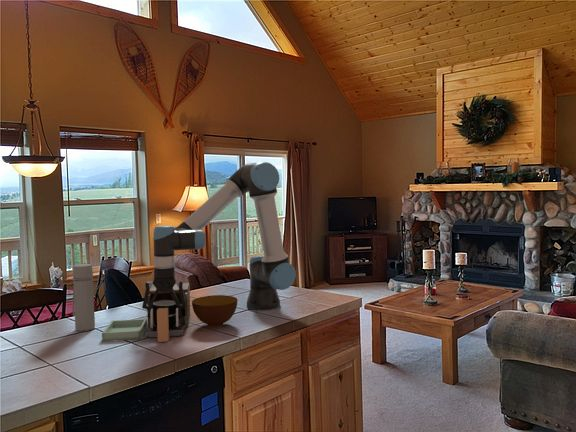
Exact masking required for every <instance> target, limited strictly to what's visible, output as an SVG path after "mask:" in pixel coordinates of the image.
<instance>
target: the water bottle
mask: <svg viewBox="0 0 576 432" xmlns="http://www.w3.org/2000/svg"><path fill="white" fill-rule="evenodd" d="M70 281H72V282H73V283H72V285H73V286H72V287H73V291H72V305H71V306H72V307H71V310H72V311H71V312H72V316H73V317H74V326H75V328H74V329H75V331H77V332H80V331H84V332H89V330H90V331H92V330H93V329H95V327H96V321H95V316H96V315H95V297H94V295H95V294H94V293H95V292H94V272H93V265H92V264H91V263H80V264H74V265H73V271H72V278H70Z"/></svg>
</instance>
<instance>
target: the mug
mask: <svg viewBox="0 0 576 432" xmlns="http://www.w3.org/2000/svg"><path fill="white" fill-rule="evenodd" d="M158 308H168V321H169V331H170V330H175V327H176V325H175V323H176V308H177V305H176V303H175V301H171V300H163V301H157V302H154V303H153V315H154V323H155V326H154V328H155V329H156V330H157V310H158ZM182 314H183V311H182ZM181 317H182V316H181ZM181 317H179V319H180V318H181Z"/></svg>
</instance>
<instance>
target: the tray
mask: <svg viewBox="0 0 576 432" xmlns="http://www.w3.org/2000/svg"><path fill="white" fill-rule="evenodd" d="M146 329H148V318H140V319H139V318H138V319H117V320H111V321H110V322H109V324H108V325H107V326H106V328H105V329H104V330H103V331H102V333H101V341H102V342H111V341H112V342H114V340H118V341H131V340H133V341H134V340H135V341H136V340H142V337H143V335H144V334H145V332H146Z"/></svg>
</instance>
